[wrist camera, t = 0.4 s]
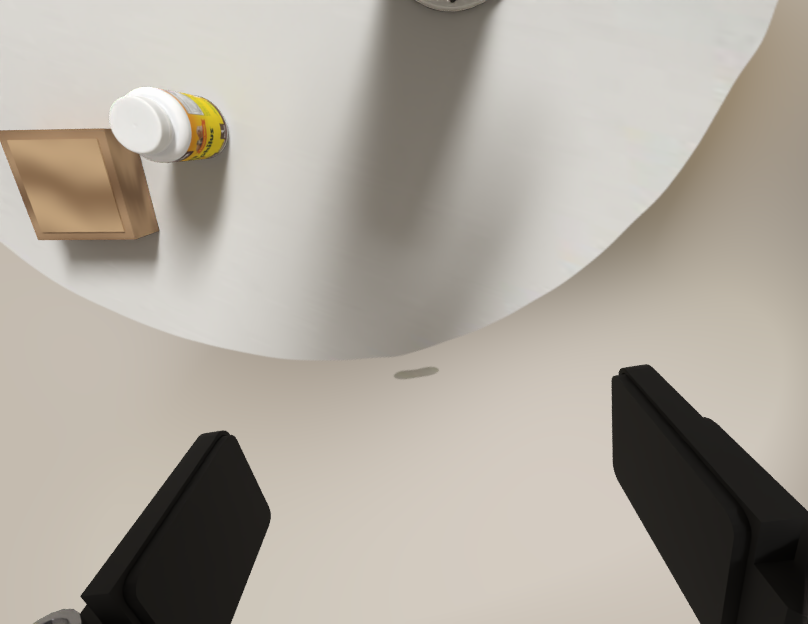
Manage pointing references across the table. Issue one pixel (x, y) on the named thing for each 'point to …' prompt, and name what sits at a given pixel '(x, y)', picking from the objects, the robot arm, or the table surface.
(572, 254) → the table surface
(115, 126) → the supplement bottle
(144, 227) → the base
